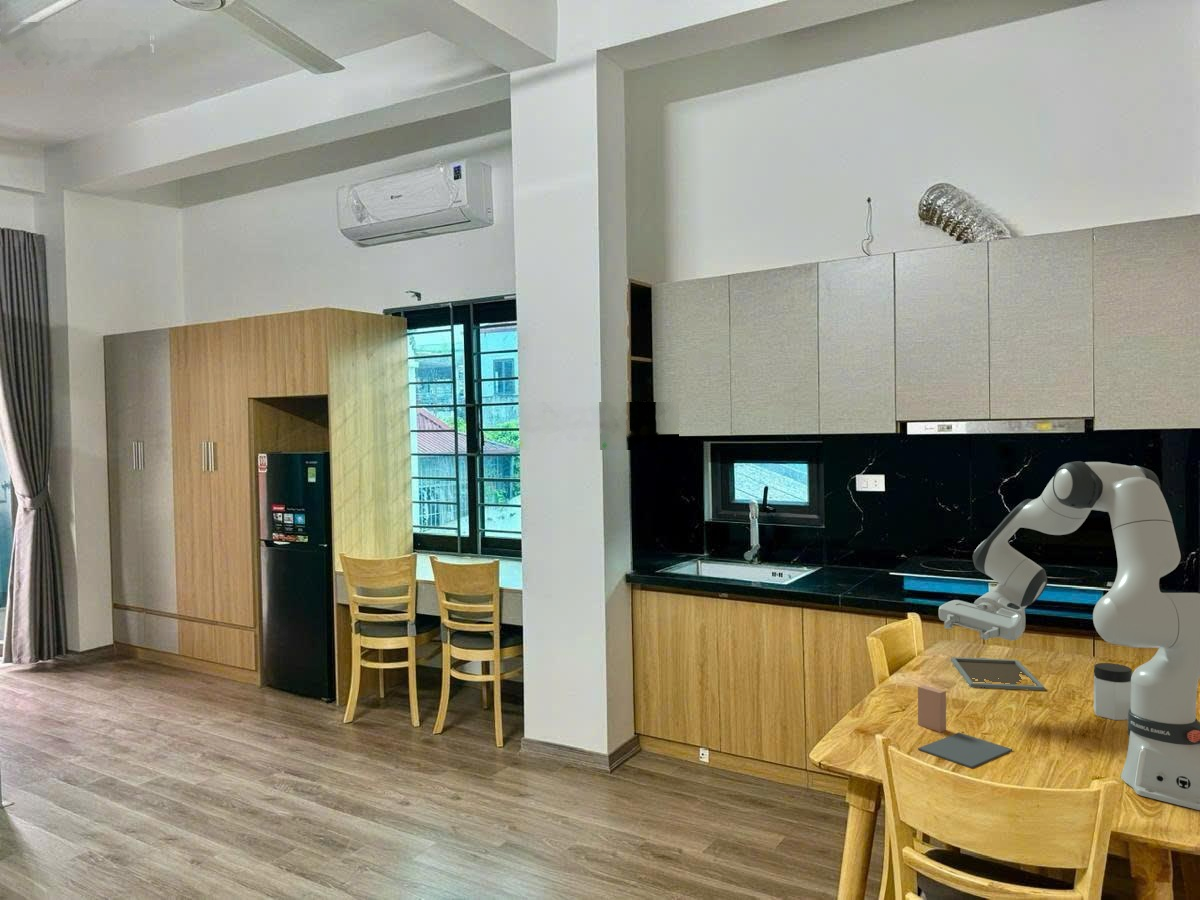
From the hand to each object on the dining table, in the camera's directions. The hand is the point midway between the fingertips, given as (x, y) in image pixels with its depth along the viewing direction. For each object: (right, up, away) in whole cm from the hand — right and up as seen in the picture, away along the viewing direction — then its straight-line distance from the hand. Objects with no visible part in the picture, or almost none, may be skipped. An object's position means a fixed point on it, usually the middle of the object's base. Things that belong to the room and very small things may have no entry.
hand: (964, 631), depth 216 cm
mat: (-9, -22, -22) cm, 33 cm away
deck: (-11, -22, -7) cm, 25 cm away
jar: (+37, -21, 0) cm, 42 cm away
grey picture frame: (+24, -21, +35) cm, 47 cm away
